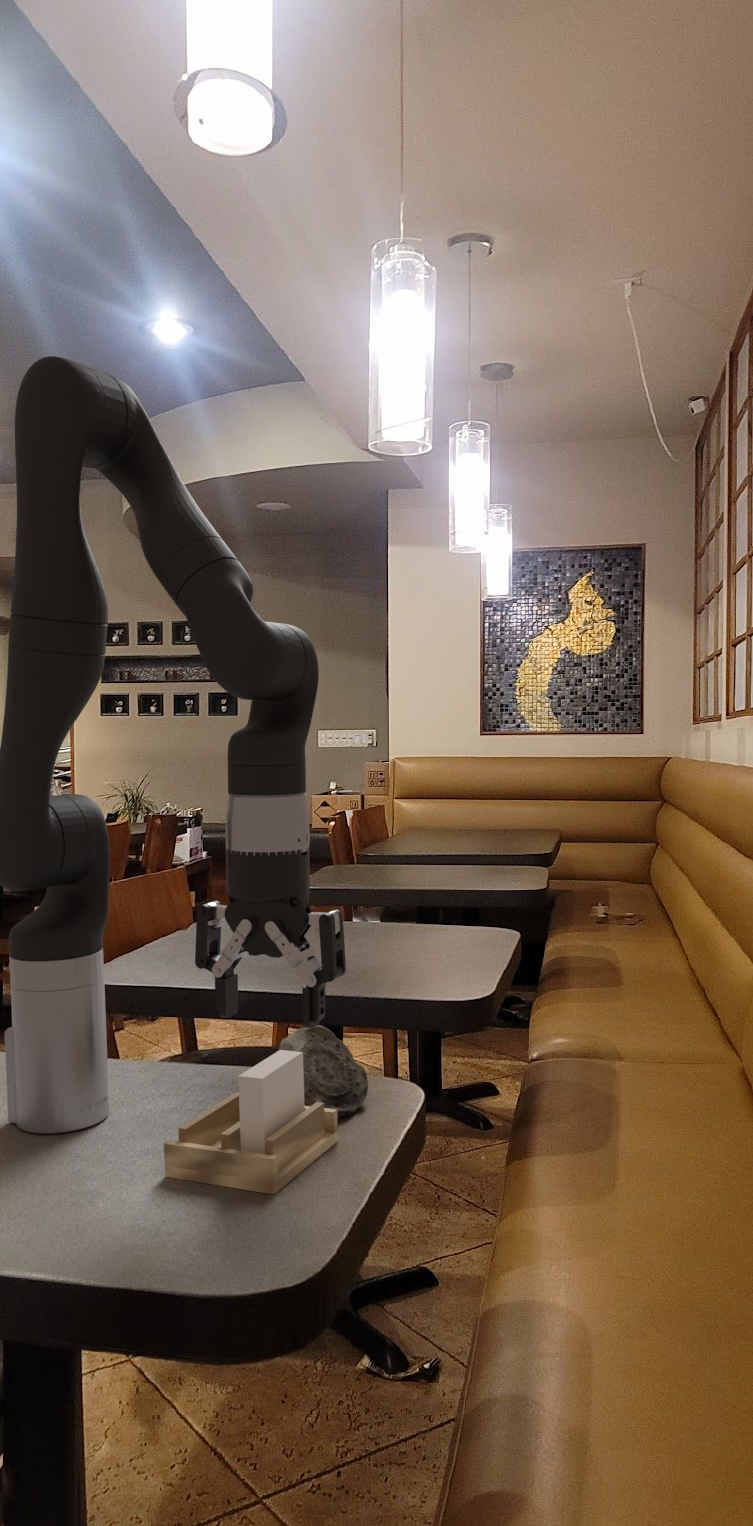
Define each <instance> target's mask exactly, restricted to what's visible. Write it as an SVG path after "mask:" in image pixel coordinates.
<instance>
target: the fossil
mask: <svg viewBox="0 0 753 1526" xmlns="http://www.w3.org/2000/svg"><path fill="white" fill-rule="evenodd" d="M279 1050H286V1051H297V1052H303V1072H304V1103H305V1106H312V1105H313V1104H315V1103H316V1102H321V1103H324V1108H328V1109H336V1110H337V1119H342V1118H346V1117H348V1116H350V1115H352V1114H354V1113H355V1112H356V1111H357V1110H359V1108H360V1106H362V1105H363V1103H364V1102H365V1101H366V1098H367V1095H368V1092H369V1091H368V1090H369V1089H368V1088H369V1082H368V1077H367V1072H366V1070H365V1068H364V1067H363V1066H362V1065H360V1064H359V1063H358V1062H357V1061H356V1059H354V1056H353V1054H352V1052H351V1051H350V1050H349V1048H348V1046H347V1045H346V1044H345V1042H343V1040H341V1039H339V1038H337V1036H336V1035H335V1033H334V1032H333V1030H330V1029H329V1028H328V1027H325V1026H324V1025H321V1024H320V1025H319V1024H318V1025H316V1026H315V1027H313V1028H306V1027H301V1028H298V1029H296V1030H295V1031H293V1032H292V1033H290V1034H289V1035H287V1036H286V1037H284V1038H283V1039H281V1041H280V1043H279V1047H278V1049H277V1052H278V1051H279Z"/></svg>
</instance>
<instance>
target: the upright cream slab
mask: <svg viewBox="0 0 753 1526" xmlns="http://www.w3.org/2000/svg"><path fill="white" fill-rule="evenodd" d="M237 1077H238V1081H237V1083H238V1092H239V1112H240V1142H241V1151H247V1152H254V1153H261V1154H265V1140H266V1139H267V1138H268V1137H270V1136H271V1135H272V1134H274V1133H275V1132H276V1131H278V1130H279V1129H281V1128H282V1127H283V1126H285V1125H286V1124H287V1123H289V1122H290V1121H291V1120H293V1119H294V1118H296V1117H297V1116H298V1115H300V1114H301V1113H302V1112H304V1111H305V1103H304V1072H303V1052H297V1051H286V1050H279V1051H278V1050H277V1051H276V1052H274V1053H273V1054H271V1055H269V1056H268V1057H267V1058H265V1059H263V1060H261V1061H260V1062H258V1063H257V1064H255V1065H253V1066H252V1067H250V1068H249V1069H247V1070H246V1071H244V1072H242V1073H241V1074H239V1075H237Z"/></svg>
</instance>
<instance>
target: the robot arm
mask: <svg viewBox="0 0 753 1526" xmlns="http://www.w3.org/2000/svg"><path fill="white" fill-rule="evenodd" d="M14 409H15V413H14V449H15V450H14V454H15V455H14V457H15V483H16V527H15V528H16V531H15V551H14V553H15V554H14V555H15V556H14V572H13V573H14V576H13V577H14V578H13V587H12V595H11V605H10V606H11V607H10V613H11V614H9V615H10V616H9V617H10V618H9V631H8V643H7V649H8V650H7V671H6V672H7V677H6V690H5V699H4V713H3V723H2V731H1V732H2V733H1V741H0V886H1V887H2V888H5V889H6V890H9V891H13V892H14V891H15V892H19V891H20V892H22V891H30V890H37V889H44V888H46V892H45V896H44V898H43V900H42V901H41V903H40V904H39V905H38V906H37V908H35V910H33V911H32V912H31V913H30V914H29V915H27V916H26V917H25V918H23V919H21V920H20V921H19V922H17V923H16V924H15V925H13V926H12V928H11V930H10V931H9V934H8V952H9V953H8V955H9V959H8V960H9V979H10V981H9V983H10V1000H11V1001H10V1003H11V1027H8V1028H7V1029H5V1031H4V1050H5V1051H4V1052H5V1055H4V1056H5V1073H6V1074H5V1075H6V1077H5V1078H6V1079H5V1080H6V1098H7V1099H6V1101H7V1102H6V1103H7V1121H8V1123H13V1124H15V1125H16V1126H17V1127H18V1128H19V1129H20V1130H22V1131H24V1132H28V1133H34V1134H60V1133H68V1132H73V1131H77V1130H82V1129H86V1128H88V1127H92V1126H94V1125H97V1124H99V1123H100V1122H102V1121H104V1120H105V1119H107V1116H108V1115H109V1114H110V1101H109V1100H110V1097H109V1078H108V1077H109V1069H108V1068H109V1067H108V1044H107V1043H108V1042H107V1038H108V1037H107V1018H106V1017H107V1016H106V992H105V990H106V989H105V969H104V968H105V966H104V965H105V964H104V948H103V947H104V942H103V941H104V933H105V929H106V926H107V922H108V919H109V911H110V910H109V907H110V906H109V905H110V902H109V899H110V897H109V896H110V894H109V893H110V839H109V838H110V837H109V831H108V827H107V821H106V819H105V816H104V814H103V811H102V810H101V808H100V806H99V805H98V804H97V803H96V802H95V801H94V799H92V798H90V797H89V796H87V795H84V794H77V793H71V794H56V795H54V794H53V795H51V788H52V782H53V776H54V769H55V765H56V761H57V758H58V755H59V752H60V749H61V747H62V744H63V743H64V741H65V739H66V737H67V736H68V734H69V732H70V730H71V728H72V727H73V726H74V723H75V722H76V721H77V719H78V718H79V716H80V715H81V713H82V711H83V710H84V709H85V707H86V705H87V704H88V702H89V701H90V699H91V697H92V696H93V694H94V692H95V691H96V688H97V686H98V685H99V682H100V680H101V678H102V675H103V671H104V667H105V661H106V660H105V659H106V652H107V651H106V649H107V637H108V624H109V604H108V598H107V593H106V589H105V586H104V582H103V580H102V576H101V573H100V571H99V568H98V565H97V563H96V559H95V558H94V555H93V552H92V550H91V547H90V545H89V542H88V539H87V536H86V533H85V529H84V528H85V527H84V524H83V519H82V511H81V487H82V486H81V484H82V469H83V468H88V469H95V470H97V471H98V472H99V473H100V474H101V475H103V476H104V477H105V478H106V480H108V481H109V482H110V483H111V484H112V485H113V486H114V487H115V488H116V489H117V490H118V491H119V492H120V493H121V494H122V496H123V497H124V499H126V501H127V502H128V505H129V506H130V508H131V510H132V512H133V514H134V518H135V521H136V524H137V525H136V526H137V531H138V535H139V536H138V537H139V541H140V542H139V543H140V546H141V549H142V552H143V556H144V558H145V560H146V562H147V564H148V566H149V568H150V570H151V572H153V575H154V576H155V577H156V579H157V580H158V582H159V584H161V586H162V587H163V589H164V590H165V591H166V593H167V594H168V597H170V599H172V601H173V602H174V604H175V605H176V606H177V608H178V609H179V611H180V612H181V613H182V615H184V616H185V618H186V621H187V623H188V626H189V630H190V632H191V636H192V638H193V640H194V642H195V646H196V647H197V650H198V652H199V654H200V657H201V660H202V662H203V664H204V666H205V668H206V670H207V671H208V673H209V675H210V676H211V677H212V679H213V680H214V682H216V683H217V684H218V686H219V687H221V688H222V689H223V690H224V691H225V692H227V693H228V694H229V695H231V696H233V697H235V698H238V699H240V700H246V701H247V700H249V701H251V704H250V709H249V713H248V715H249V716H248V720H247V723H246V725H245V726H244V727H242V728H241V729H238V730H237V731H235V732H234V733H233V734H232V735H231V736H230V739H229V740H228V745H227V793H228V795H227V806H226V812H225V813H226V814H225V867H226V869H225V870H226V872H225V873H226V877H225V878H226V880H225V881H226V882H225V883H226V893H227V895H228V902H227V905H224V904H221V902H220V901H218V900H213V901H210V902H207V903H203V904H201V905H199V906H198V907H197V909H196V923H195V924H196V925H195V926H196V927H195V930H196V931H195V951H194V952H195V955H194V957H195V958H194V964H195V966H196V967H197V968H198V969H200V970H201V969H205V970H207V971H209V972H210V973H211V974H212V975H213V977H214V1005H215V1007H216V1011H219V1017H220V1018H227V1019H229V1018H231V1017H232V1016H235V1015H237V1014H238V1012H239V974H238V973H234V972H235V971H236V970H237V968H238V967H239V965H240V964H241V963H242V961H243V959H244V958H245V957H246V956H247V955H248V956H253V957H257V956H262V955H265V956H267V957H270V958H274V959H275V958H277V959H280V958H282V957H284V959H285V960H286V962H287V963H288V965H289V966H290V967H291V968H293V969H295V970H296V971H297V974H298V975H299V976H300V978H301V979H302V981H303V982H304V984H305V985H304V986H302V988H301V992H302V999H301V1000H302V1028H313V1027H315V1026H316V1025H319V1024H320V1023H321V1020H322V1019H324V1018H325V1015H326V985H327V983H331V982H333V981H335V980H336V979H338V978H340V977H342V976H344V975H345V974H346V973H347V963H346V950H345V949H346V948H345V947H346V946H345V934H344V933H345V932H344V931H345V930H344V919H343V918H344V917H343V913H342V911H340V910H338V909H333V910H330V911H327V912H322V911H318V912H316V911H315V912H313V910H312V909H311V906H310V902H309V896H310V892H311V891H310V890H311V887H310V886H311V885H310V884H311V880H310V879H311V873H310V871H311V868H310V867H311V866H310V859H311V858H310V842H311V831H310V816H309V809H308V803H307V778H306V777H307V776H306V775H307V774H306V773H307V772H306V770H307V769H306V767H307V766H306V764H307V762H306V745H307V740H308V736H309V732H310V729H311V728H310V727H311V724H312V720H313V714H314V710H315V704H316V699H317V695H318V687H319V675H320V674H319V672H320V670H319V669H320V668H319V661H318V660H319V659H318V655H317V652H316V649H315V646H314V644H313V642H312V640H311V638H310V637H309V636H308V634H307V633H306V632H305V631H304V630H302V629H301V628H299V627H297V626H295V625H292V624H288V623H283V622H282V623H280V622H273V621H266V620H265V621H264V620H263V618H261V616H260V615H258V613H257V612H256V611H255V610H254V608H253V606H252V604H251V602H252V599H253V595H254V586H253V585H254V584H253V581H252V580H251V577H250V576H249V574H248V572H247V570H246V569H245V568H244V566H243V564H241V562H240V561H239V559H238V558H237V557H236V556H235V554H234V553H233V551H232V550H231V549H230V547H229V546H228V545H227V544H226V543H225V541H224V540H223V539H222V537H221V536H220V535H219V533H218V532H217V531H216V529H215V528H214V526H213V525H212V523H210V521H209V520H208V518H207V517H206V515H205V514H204V513H203V511H202V510H201V508H200V507H199V506H198V504H197V502H196V501H195V500H194V498H193V496H192V495H191V493H190V492H189V490H188V488H187V487H186V485H185V483H184V482H183V480H182V478H181V476H180V475H179V473H178V471H177V469H176V467H175V465H174V463H173V462H172V460H171V457H170V456H169V454H168V452H167V450H166V449H165V447H164V446H163V444H162V441H161V440H160V437H159V435H158V434H157V432H156V429H155V427H154V426H153V422H151V419H150V417H149V415H148V414H147V412H146V410H145V409H144V406H143V404H142V403H141V401H140V399H139V398H138V397H137V395H136V394H135V392H134V390H132V388H131V387H130V386H129V385H128V384H127V383H126V382H125V381H122V380H121V379H120V378H118V377H117V376H114V375H112V374H110V373H107V372H105V371H102V370H99V369H97V368H94V367H91V366H88V365H85V364H82V363H80V362H77V361H74V360H72V359H68V358H66V357H61V356H56V355H54V356H53V355H49V356H44V357H42V358H40V359H38V360H36V361H34V363H33V364H32V365H30V367H29V368H28V369H27V371H26V373H25V374H24V376H23V378H22V380H21V383H20V385H19V388H18V392H17V398H16V402H15V408H14ZM225 921H226V923H227V925H228V927H229V928H230V930H231V931H232V935H231V937H230V938H229V940H228V941H227V942H226V944H225V945H224V947H223V949H222V950H221V940H222V939H221V937H222V936H221V935H222V934H221V933H222V926H224V924H225ZM311 927H313V928H314V933H315V934H316V936H318V937H319V942H320V943H319V944H320V945H319V946H320V958H321V960H320V958H319V956H318V951H317V948H316V947H315V946H314V944H313V942H312V941H311V940H310V939H309V937H308V935H307V933H308V931H309V930H310V928H311Z"/></svg>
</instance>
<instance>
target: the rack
mask: <svg viewBox="0 0 753 1526" xmlns="http://www.w3.org/2000/svg"><path fill="white" fill-rule="evenodd" d="M338 1119H339V1118H337V1110H336V1109H328V1108H324V1103H321V1102H316V1103H315V1104H313V1105H312V1106H305V1111H304V1112H302V1113H301V1114H300V1115H298V1116H297V1117H296V1118H294V1119H293V1120H291V1121H290V1122H289V1123H287V1124H286V1125H285V1126H283V1127H282V1128H281V1129H279V1130H278V1131H276V1132H275V1133H274V1134H272V1135H271V1136H270V1137H268V1138H267V1139H266V1140H265V1154H261V1153H254V1152H247V1151H241V1142H240V1112H239V1091H238V1092H237V1091H235V1092H234V1093H232V1094H230V1095H228V1096H227V1097H226V1098H224V1099H223V1100H220V1102H218V1103H216V1104H214V1105H213V1106H211V1107H209V1108H208V1109H207V1110H205V1111H203V1112H201V1113H200V1114H199V1115H197V1116H195V1117H194V1118H192V1119H191V1120H189V1121H187V1122H186V1123H184V1124H182V1125H181V1126H179V1127H178V1141H177V1140H172V1139H168V1140H166V1141H165V1142H164V1143H163V1153H164V1156H163V1157H164V1177H165V1178H172V1179H177V1180H182V1181H183V1180H184V1181H190V1182H195V1183H202V1184H208V1185H214V1186H219V1187H225V1188H233V1189H239V1190H244V1191H251V1192H257V1193H263V1194H269V1195H276V1194H277V1193H278V1192H279V1191H280V1190H281V1189H283V1188H284V1187H285V1186H286V1185H288V1184H289V1183H290V1182H291V1181H292V1180H293V1179H295V1178H296V1177H297V1176H298V1175H299V1174H301V1173H302V1172H303V1171H304V1170H305V1169H306V1168H308V1167H309V1166H310V1165H311V1164H313V1163H314V1162H315V1161H316V1160H317V1159H319V1158H320V1157H321V1156H322V1155H324V1153H325V1152H326V1151H328V1150H330V1148H331V1147H333V1146H335V1144H336V1143H337V1142H338V1141H339V1128H338V1127H339V1126H338V1125H339V1123H338Z"/></svg>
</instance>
